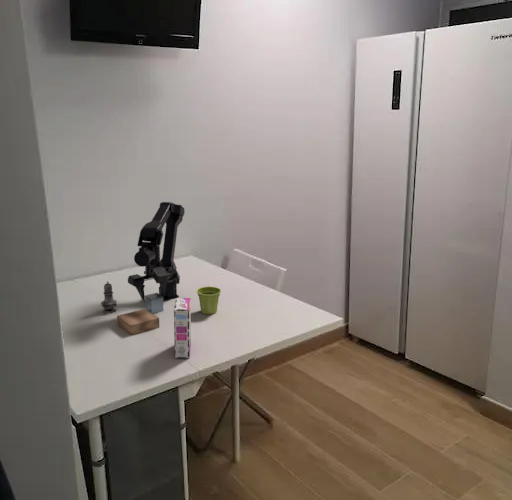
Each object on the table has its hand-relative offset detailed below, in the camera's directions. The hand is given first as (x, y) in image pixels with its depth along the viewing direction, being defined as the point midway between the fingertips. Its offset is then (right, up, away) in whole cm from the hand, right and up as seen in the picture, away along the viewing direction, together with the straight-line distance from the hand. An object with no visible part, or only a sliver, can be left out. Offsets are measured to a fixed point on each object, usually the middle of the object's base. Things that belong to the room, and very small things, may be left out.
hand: (154, 297), depth 201 cm
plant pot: (+21, -6, +1) cm, 22 cm away
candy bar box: (+16, -14, -32) cm, 39 cm away
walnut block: (-3, -9, -14) cm, 17 cm away
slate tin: (0, -5, +1) cm, 5 cm away
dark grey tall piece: (-17, -5, 0) cm, 18 cm away
